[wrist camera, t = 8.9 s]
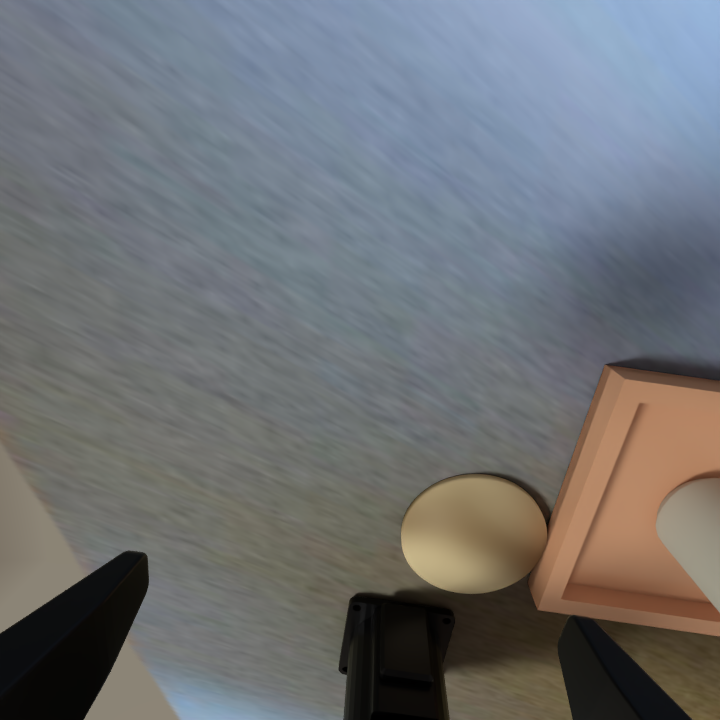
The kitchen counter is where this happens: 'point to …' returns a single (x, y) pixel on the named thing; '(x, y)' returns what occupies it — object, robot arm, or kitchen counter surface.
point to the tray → (631, 503)
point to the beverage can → (694, 532)
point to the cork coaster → (473, 534)
